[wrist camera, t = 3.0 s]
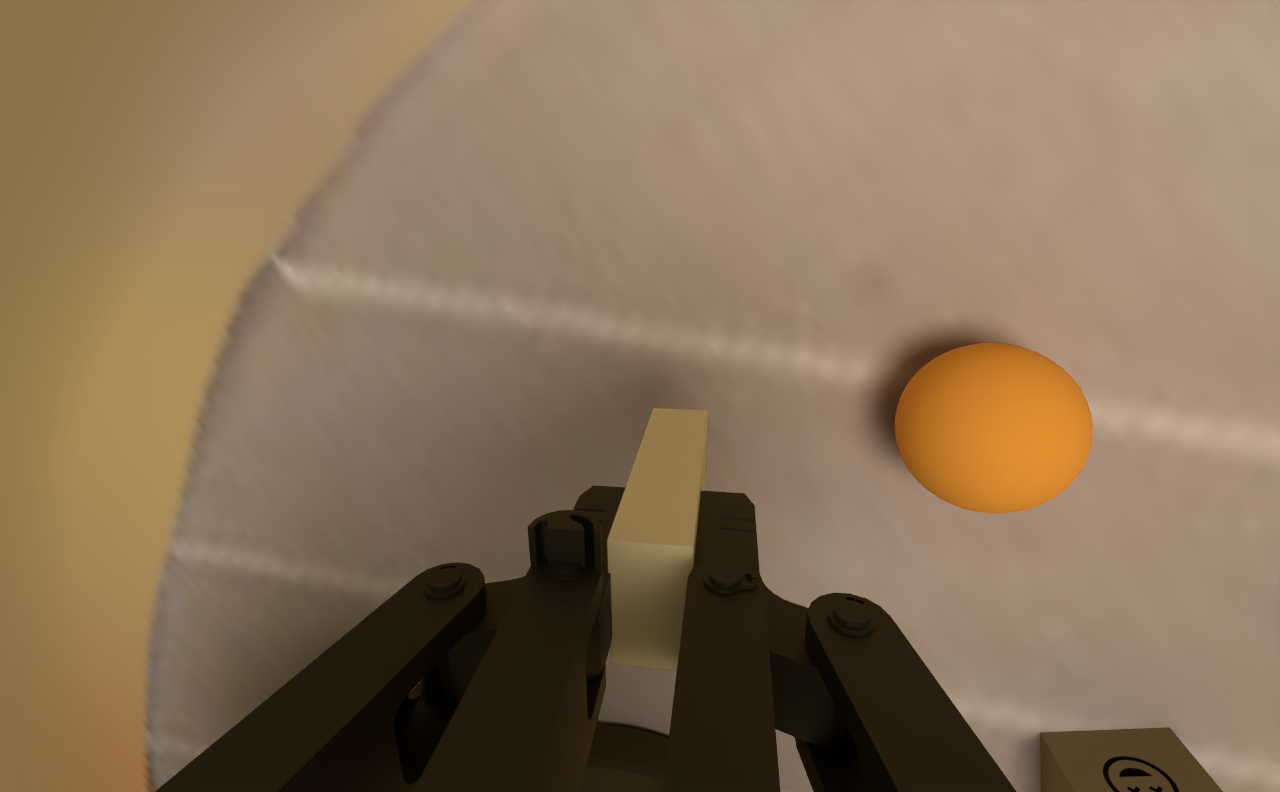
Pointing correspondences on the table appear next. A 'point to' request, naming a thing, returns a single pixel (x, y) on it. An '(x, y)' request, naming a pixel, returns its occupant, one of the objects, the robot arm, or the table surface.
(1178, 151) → the table surface
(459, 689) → the robot arm
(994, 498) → the ball
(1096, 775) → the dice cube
